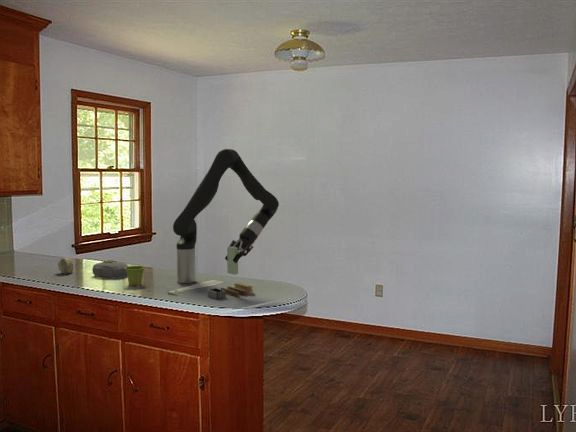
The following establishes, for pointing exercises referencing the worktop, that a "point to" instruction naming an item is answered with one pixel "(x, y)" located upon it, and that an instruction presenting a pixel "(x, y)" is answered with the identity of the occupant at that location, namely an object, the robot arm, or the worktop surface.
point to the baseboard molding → (197, 286)
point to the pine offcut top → (243, 286)
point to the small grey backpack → (110, 269)
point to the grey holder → (216, 293)
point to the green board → (231, 265)
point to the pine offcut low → (246, 291)
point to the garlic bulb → (65, 265)
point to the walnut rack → (235, 292)
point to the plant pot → (135, 274)
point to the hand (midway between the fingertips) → (230, 260)
